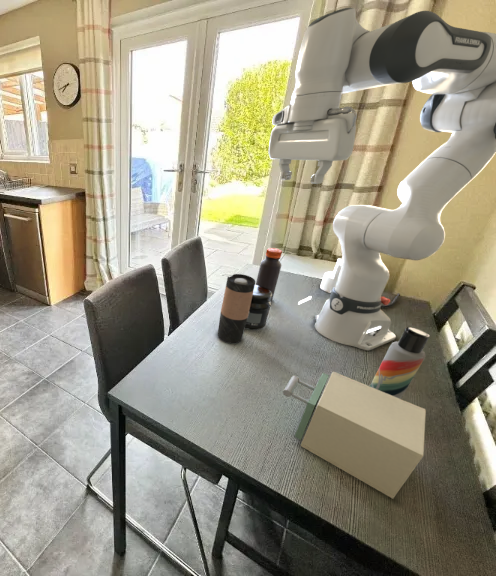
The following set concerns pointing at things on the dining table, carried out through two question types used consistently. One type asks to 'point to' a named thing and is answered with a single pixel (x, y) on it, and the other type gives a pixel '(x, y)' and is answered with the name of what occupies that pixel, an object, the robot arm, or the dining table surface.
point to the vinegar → (269, 270)
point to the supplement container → (259, 308)
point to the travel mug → (235, 308)
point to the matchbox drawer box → (367, 433)
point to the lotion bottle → (401, 363)
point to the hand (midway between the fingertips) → (299, 181)
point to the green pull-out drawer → (310, 403)
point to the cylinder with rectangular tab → (331, 277)
